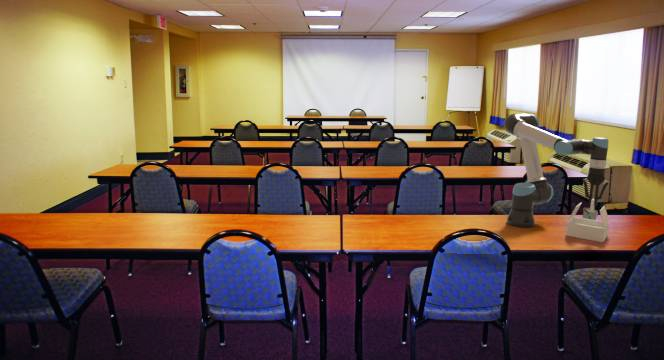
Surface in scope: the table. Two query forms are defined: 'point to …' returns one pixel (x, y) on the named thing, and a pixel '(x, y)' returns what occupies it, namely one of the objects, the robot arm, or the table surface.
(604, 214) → the flap
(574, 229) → the carton
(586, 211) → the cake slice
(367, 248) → the table surface
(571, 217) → the flap
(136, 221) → the table surface
